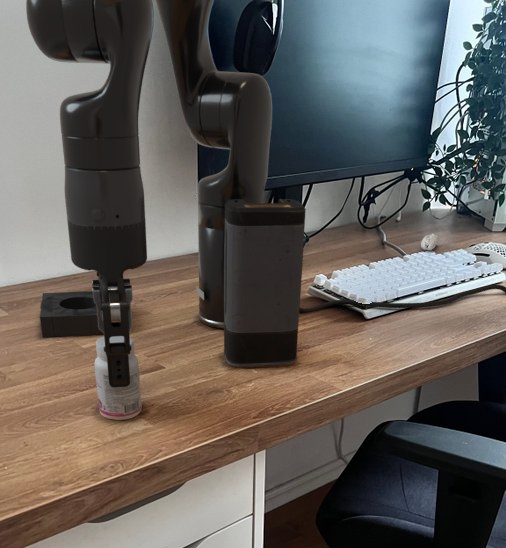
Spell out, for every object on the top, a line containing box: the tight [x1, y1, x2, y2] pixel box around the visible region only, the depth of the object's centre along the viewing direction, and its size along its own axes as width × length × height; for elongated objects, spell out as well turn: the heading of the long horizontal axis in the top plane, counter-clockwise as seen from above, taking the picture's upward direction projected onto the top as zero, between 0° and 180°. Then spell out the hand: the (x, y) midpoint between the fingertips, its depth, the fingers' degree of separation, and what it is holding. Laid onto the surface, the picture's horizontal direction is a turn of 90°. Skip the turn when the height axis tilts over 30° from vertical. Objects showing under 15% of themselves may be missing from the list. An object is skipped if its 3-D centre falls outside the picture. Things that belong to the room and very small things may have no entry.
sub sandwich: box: [420, 233, 439, 251], centre depth 147 cm, size 3×8×3 cm, turn 157°
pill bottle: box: [94, 336, 143, 421], centre depth 76 cm, size 5×5×8 cm
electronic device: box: [223, 198, 307, 369], centre depth 87 cm, size 9×6×20 cm, turn 100°
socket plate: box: [39, 290, 104, 338], centre depth 102 cm, size 11×11×3 cm
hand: (118, 375), depth 76 cm, fingers closed on pill bottle, 4 cm apart
